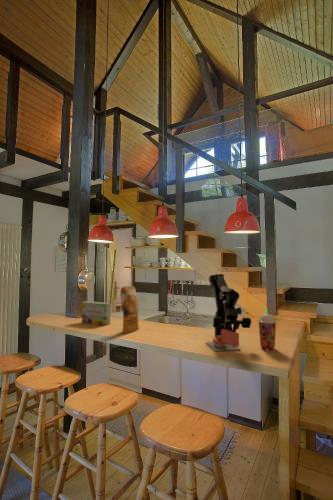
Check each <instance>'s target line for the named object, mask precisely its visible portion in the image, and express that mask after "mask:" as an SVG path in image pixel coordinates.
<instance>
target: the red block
mask: <svg viewBox="0 0 333 500" xmlns="http://www.w3.org/2000/svg"><path fill="white" fill-rule="evenodd" d="M212 342H213V343H215V344H226V343H227V344H230V345H233V346H236V347H240V334H239V332H237V331H236V332H233V331H229V330H226V329H221V335H218V336H216V337H215V338H213V339H212Z"/></svg>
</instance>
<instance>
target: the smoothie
mask: <svg viewBox="0 0 333 500" xmlns="http://www.w3.org/2000/svg"><path fill="white" fill-rule="evenodd" d="M265 309H266V310H265V312H266V313H263V314H262V315H260V316H259V319H258V329H259V342H260V346H261V349H263V350H265V349H268V350H267V351H272V350H271V349H273V350H274V348H275V347H276V346H275V345H276V332H277V331H276V330H277V329H276V328H277V321H276V319H275V318H274V316H273V315H271V314H270V313H269V312H268V308H265Z"/></svg>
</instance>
